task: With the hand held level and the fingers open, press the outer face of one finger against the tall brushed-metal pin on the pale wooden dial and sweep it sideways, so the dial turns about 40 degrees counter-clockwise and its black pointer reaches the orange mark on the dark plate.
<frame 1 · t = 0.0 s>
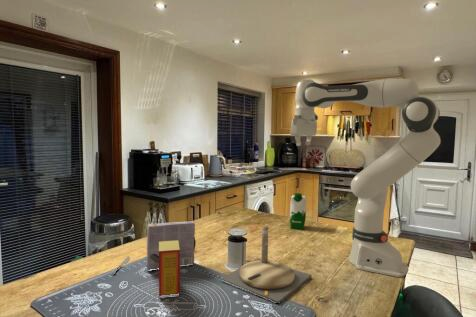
hand: (303, 145, 146), 48 cm above the table, tool pointing down, fingers open, 8 cm apart
milk carton: (297, 227, 178), on the table
cake pan box: (172, 267, 124), on the table
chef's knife: (124, 265, 125), on the table
base plate: (266, 279, 114), on the table
baking soda box: (169, 291, 105), on the table
dial: (267, 254, 113), point 9 cm above the table, hinge at 0.0°
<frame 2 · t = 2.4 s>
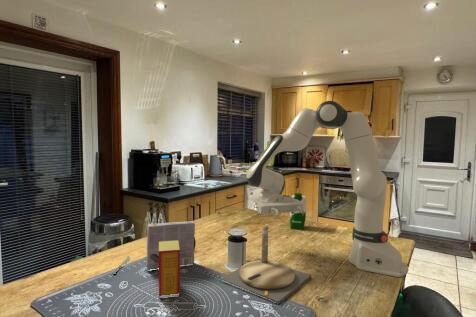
hand: (289, 212, 124), 22 cm above the table, tool horizontal, fingers open, 8 cm apart
nothing on the table moved.
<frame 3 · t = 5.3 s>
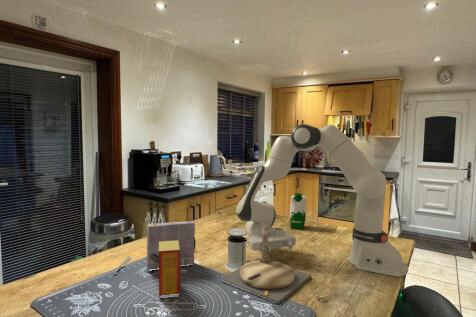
hand: (281, 248, 123), 8 cm above the table, tool horizontal, fingers open, 8 cm apart
dial: (267, 254, 113), point 9 cm above the table, hinge at 0.0°, touching gripper
everything else where it was.
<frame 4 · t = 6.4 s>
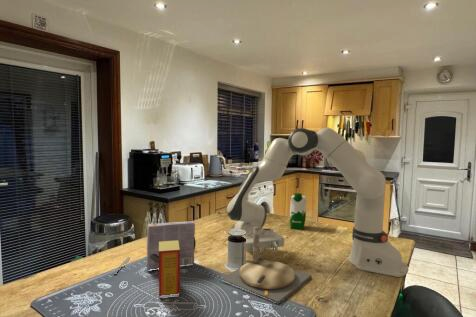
hand: (268, 249, 122), 8 cm above the table, tool horizontal, fingers open, 5 cm apart
dial: (267, 254, 113), point 9 cm above the table, hinge at 24.1°, touching gripper
everything else where it was.
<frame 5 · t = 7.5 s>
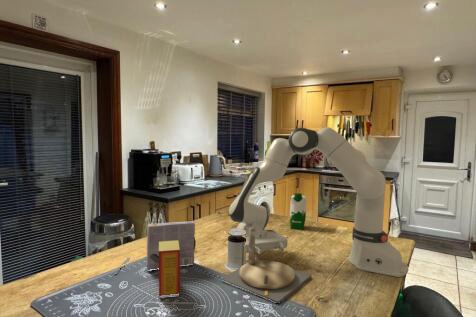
hand: (272, 250, 121), 8 cm above the table, tool horizontal, fingers open, 8 cm apart
dial: (267, 254, 113), point 9 cm above the table, hinge at 38.0°
everything else where it was.
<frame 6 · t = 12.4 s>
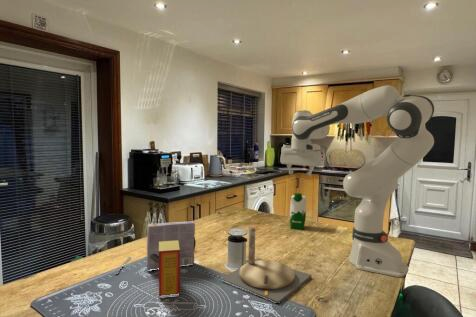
hand: (299, 174, 148), 34 cm above the table, tool pointing down, fingers open, 8 cm apart
nothing on the table moved.
at the end: dial at +38° (first picture: +0°); the gripper is holding nothing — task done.
